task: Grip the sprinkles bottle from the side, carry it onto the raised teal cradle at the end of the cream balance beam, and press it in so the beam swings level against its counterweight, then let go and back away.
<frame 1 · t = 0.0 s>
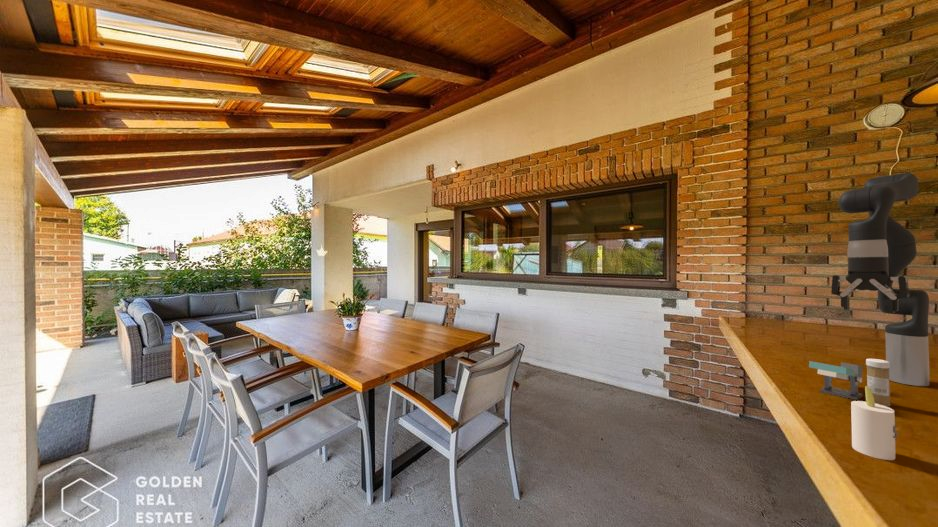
hand: (868, 311, 95), 29 cm above the table, tool pointing down, fingers open, 8 cm apart
beam: (841, 370, 107), point 8 cm above the table, hinge at -14.0°
candle: (873, 453, 75), on the table
pivot stand: (841, 394, 107), on the table
sprinkles bottle: (878, 404, 99), on the table
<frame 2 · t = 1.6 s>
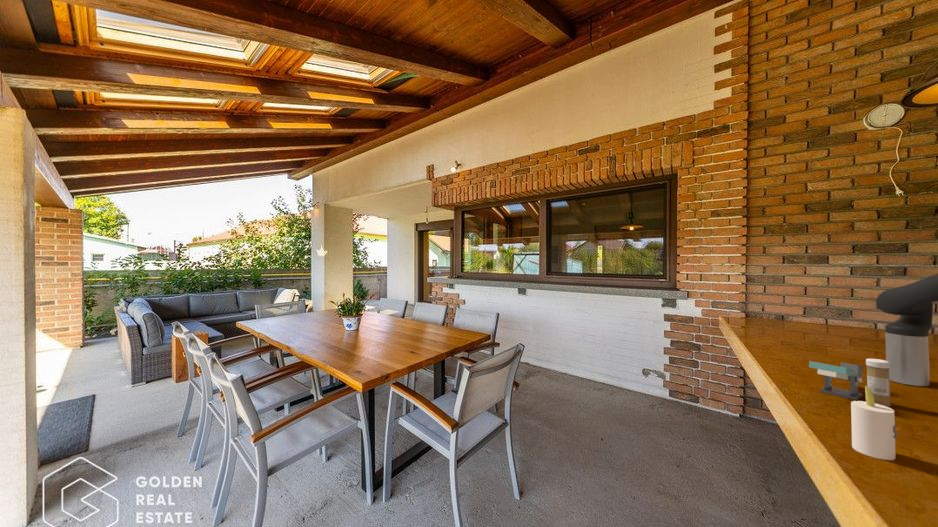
nothing on the table moved.
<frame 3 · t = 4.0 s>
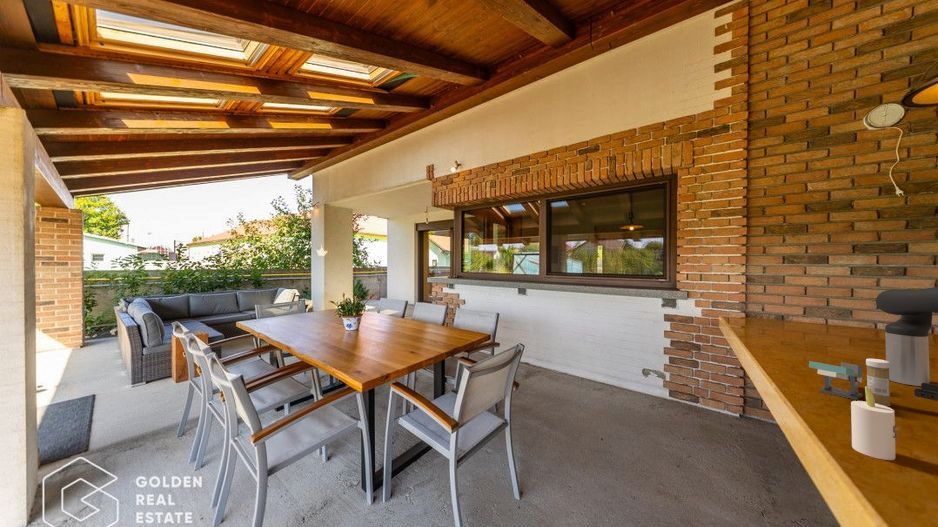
hand: (918, 389, 93), 7 cm above the table, tool horizontal, fingers open, 8 cm apart
nothing on the table moved.
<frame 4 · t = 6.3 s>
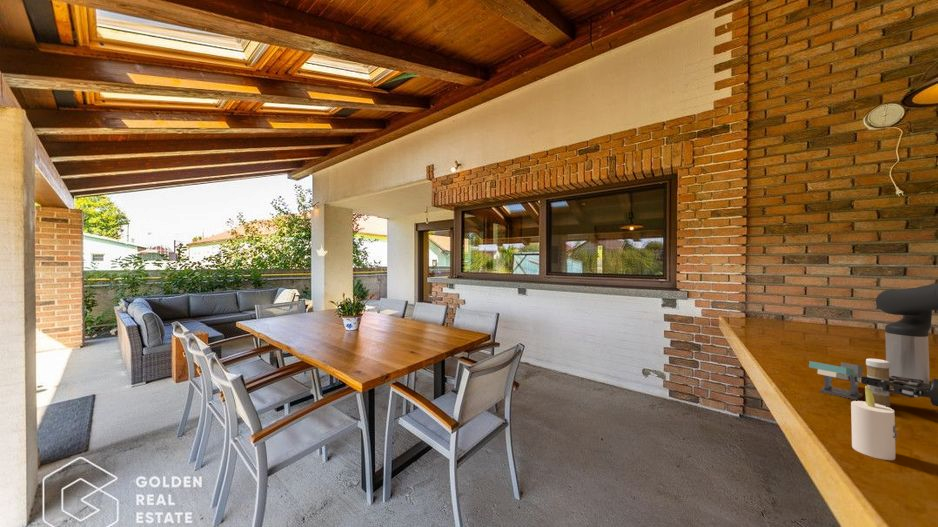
hand: (864, 378, 102), 7 cm above the table, tool horizontal, fingers closed on sprinkles bottle, 4 cm apart
sprinkles bottle: (878, 404, 99), on the table, touching gripper
everything else where it was.
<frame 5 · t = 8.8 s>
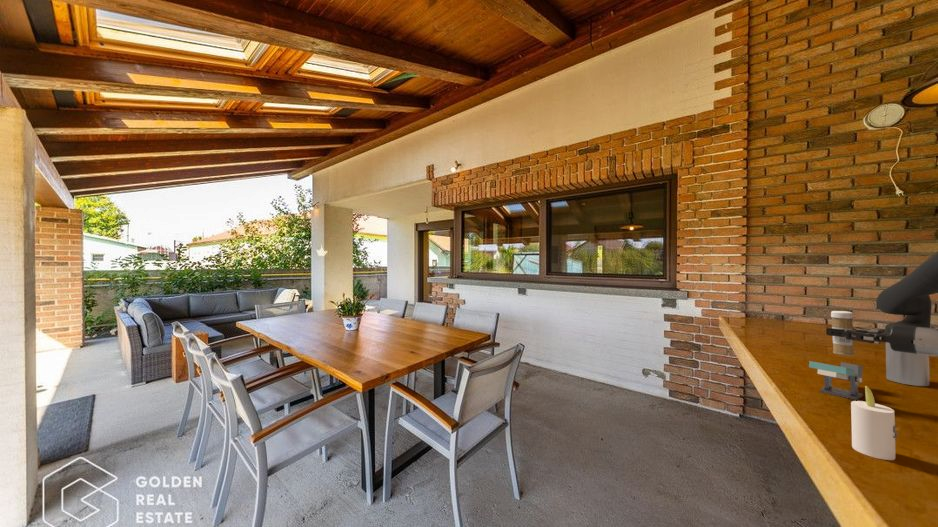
hand: (829, 330, 104), 22 cm above the table, tool horizontal, fingers closed on sprinkles bottle, 4 cm apart
sprinkles bottle: (843, 355, 102), point 15 cm above the table, touching gripper
everything else where it was.
when the fingers open (15 cm above the table, at t = 11.3 s): sprinkles bottle stays where it is, resting on beam.
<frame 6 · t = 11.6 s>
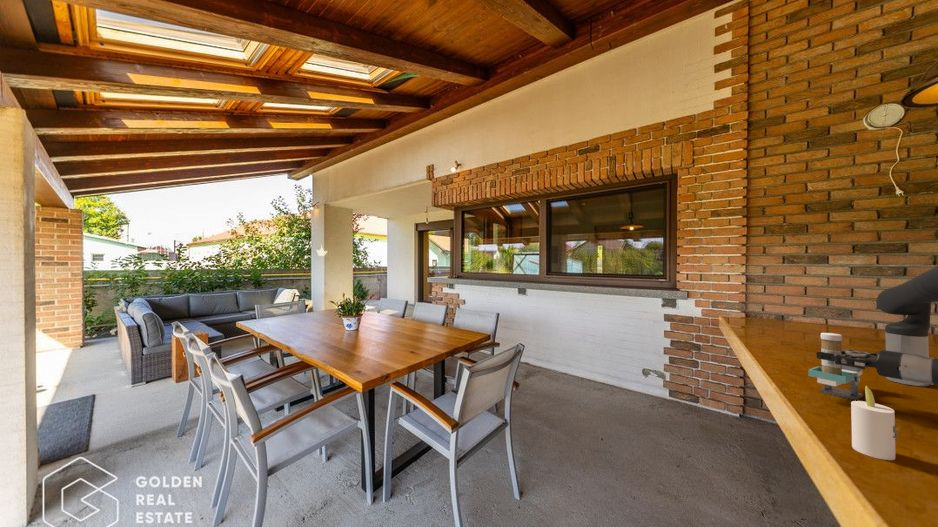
hand: (821, 353, 105), 14 cm above the table, tool horizontal, fingers open, 7 cm apart
beam: (840, 370, 107), point 8 cm above the table, hinge at -1.9°, touching sprinkles bottle
sprinkles bottle: (831, 376, 103), point 7 cm above the table, touching beam
everything else where it was.
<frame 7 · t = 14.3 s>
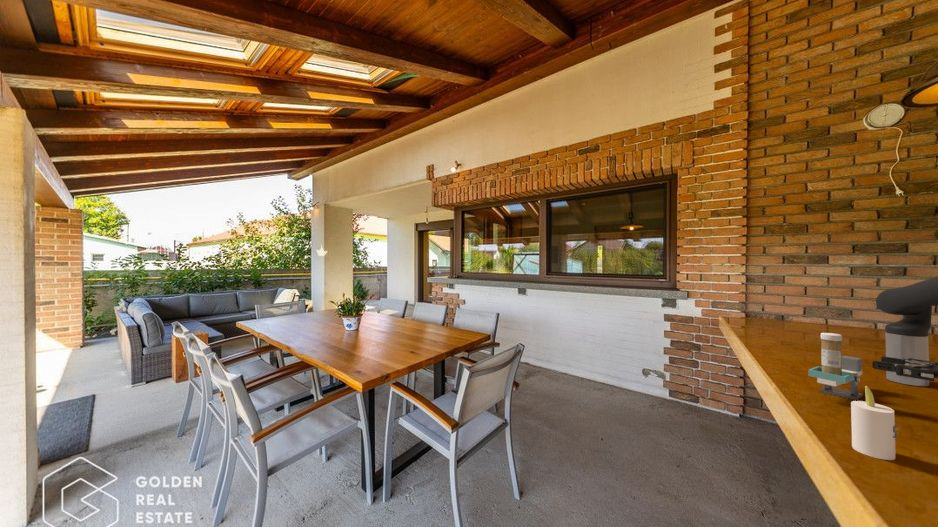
hand: (877, 362, 95), 14 cm above the table, tool horizontal, fingers open, 8 cm apart
nothing on the table moved.
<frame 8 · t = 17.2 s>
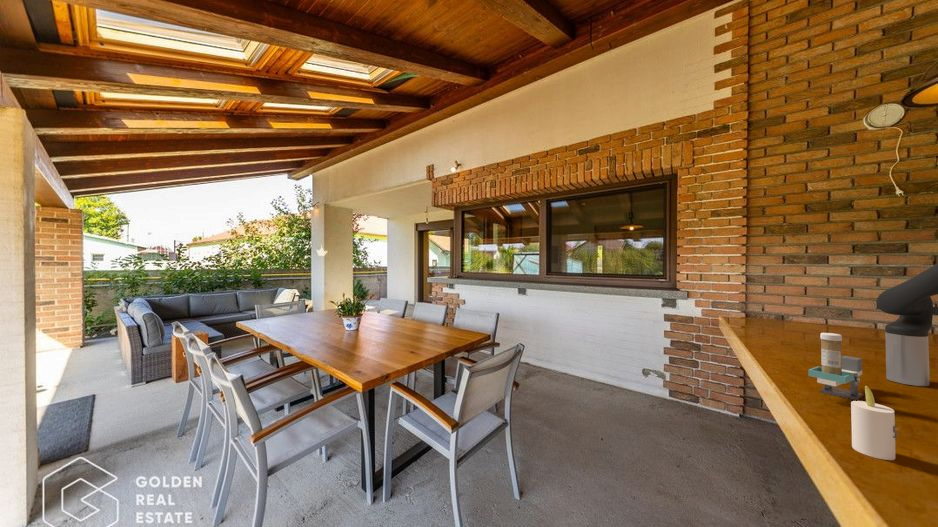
hand: (934, 309, 92), 30 cm above the table, tool horizontal, fingers open, 8 cm apart
nothing on the table moved.
at the end: beam at -2° (first picture: -14°); sprinkles bottle 0.4 cm from the target spot on the beam, point 1.3 cm above the beam's base; sprinkles bottle tilted 2° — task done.
